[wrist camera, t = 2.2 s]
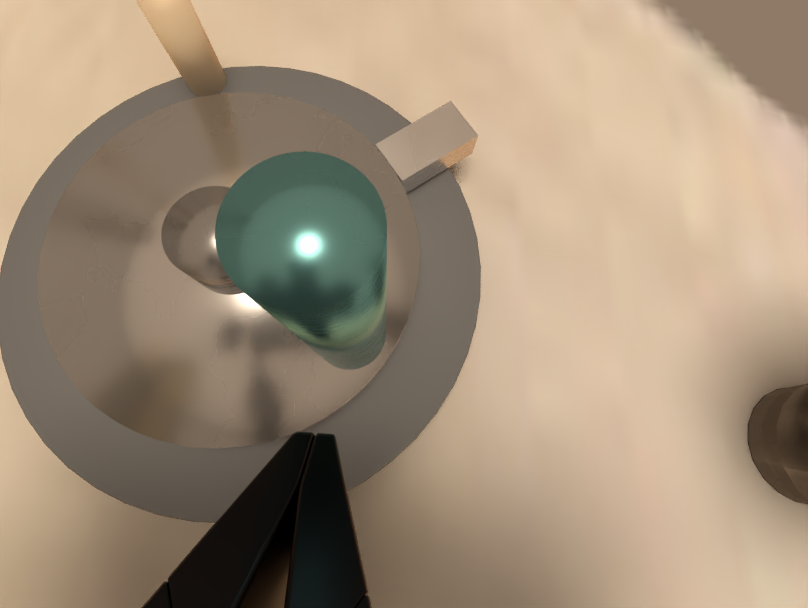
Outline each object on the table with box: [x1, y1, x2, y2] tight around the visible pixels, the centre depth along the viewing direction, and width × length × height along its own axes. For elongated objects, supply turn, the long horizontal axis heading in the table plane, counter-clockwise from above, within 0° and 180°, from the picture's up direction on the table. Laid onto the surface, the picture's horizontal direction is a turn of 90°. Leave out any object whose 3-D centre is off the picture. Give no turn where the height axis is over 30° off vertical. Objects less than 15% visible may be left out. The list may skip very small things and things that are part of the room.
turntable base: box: [0, 0, 481, 523], centre depth 16 cm, size 18×18×6 cm
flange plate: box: [38, 92, 478, 449], centre depth 12 cm, size 15×14×10 cm
